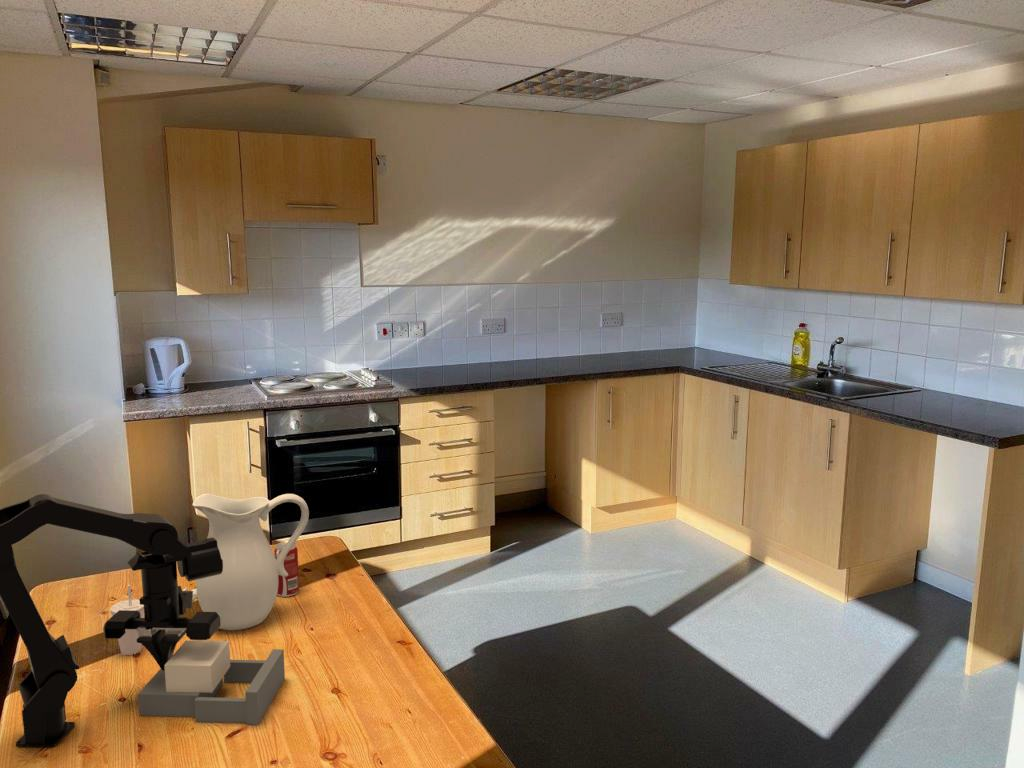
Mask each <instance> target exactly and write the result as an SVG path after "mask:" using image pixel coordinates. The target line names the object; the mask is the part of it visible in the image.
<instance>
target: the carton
mask: <svg viewBox="0 0 1024 768" xmlns="http://www.w3.org/2000/svg"><path fill="white" fill-rule="evenodd" d="M230 653H231V652H230V641H229V640H184V642H183V643H182V644H181V645H180V646H179V648H177V650H176V651H174V653H173V656H172V657H171V658H170V659H169V660H168V662H167V663H166V664H165V665H164V666H165V681H166V692H205V693H212V692H213V691H214V689H215V688H216V686H217V685H218V683H219V682H220V681H221V679H222V678H223V679H224V675H225V673H226V672H227V671H228V669H229V668H230V660H231V655H230Z"/></svg>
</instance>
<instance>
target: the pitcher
mask: <svg viewBox="0 0 1024 768" xmlns="http://www.w3.org/2000/svg"><path fill="white" fill-rule="evenodd" d="M284 503H294V504H297V505H298V506H299V508H300V511H301V513H300V514H301V516H300V519H299V520H300V521H299V522H298V525H297V526H296V529H295V530H294V532H293V533H292V535H291V537H290V538H289V539H288V542H287V541H286V542H287V543H286V545H285V546H284V548H283V549H282V551H281V552H280V554H279V555H278V557H277V559H275V554H274V551H273V549H272V546H271V544H270V543H269V541H268V539H267V536H266V534H265V532H264V531H263V529H262V525H261V522H260V519H261V521H263V522H267V521H268V516H269V515H268V514H269V513H270V512H271V511H272V509H274V508H276V507H277V506H278V505H281V504H284ZM192 507H193V508H194V509H197V510H198V511H199V512H201V513H202V514H204V515H205V517H206V518H207V521H208V523H209V529H208V534H207V537H206V539H207V538H212V537H213V538H214V539H216V540H217V546H218V548H219V551H220V555H221V559H222V560H223V571H222V573H221V574H219V575H215V576H210V577H206V578H202V579H198V580H195V587H196V591H197V600H198V604H199V606H200V608H201V611H202V612H217V614H218V615H219V616H220V622H221V626H220V627H219V628H218V630H219V629H220V630H225V631H239V630H245V629H246V630H247V629H249V628H253V627H255V626H257V625H259V624H261V623H263V621H265V620H266V618H267V617H268V616H269V614H270V612H271V610H272V609H273V607H274V604H275V602H276V600H277V596H278V595H277V592H278V575H281V576H285V577H286V576H288V573H287V572H286V570H285V568H284V559H285V557H286V555H287V553H288V552H289V550H290V549H291V547H292V546H293V545H294V543H296V542H297V540H298V539H299V538H300V536H301V535H302V533H303V532H304V530H305V528H306V526H307V524H308V522H309V515H310V510H309V507H308V504H307V503H306V500H304V498H303V497H301V496H299V495H297V494H295V493H284V494H283V493H282V494H281V495H278V496H276V497H274V498H273V499H271V500H270V499H268V498H267V497H265V496H254V497H248V498H243V499H235V498H229V497H224V496H221V495H216V494H212V493H203V494H200V495H198V496H197V497H196V498H195V499H194V500H193V502H192Z"/></svg>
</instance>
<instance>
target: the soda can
mask: <svg viewBox="0 0 1024 768" xmlns="http://www.w3.org/2000/svg"><path fill="white" fill-rule="evenodd" d="M288 541H289V540H288ZM288 541H281V542H278V543H277V544H275V547H274V548H275V549H274V551H273V553H274V556H275V559H277V557H278V555H279V554H280V552H281V551H282V549H283V548H284V546H285V545H286V543H287V542H288ZM284 568H285V570H286V572H287V573H288V576H286V577H285V576H281V575H278V592H277V596H278V597H279V596H281V597H280V598H290V597H289V596H292V597H294V596H293V595H295V594H296V595H298V593H299V592H300V581H299V580H300V579H299V576H300V575H299V554H298V547H297V543H296V542H295V543H294V545H293V546H292V547H291V549H290V550H289V552H288V553H287V555H286V557H285V559H284ZM296 595H295V596H296Z"/></svg>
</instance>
